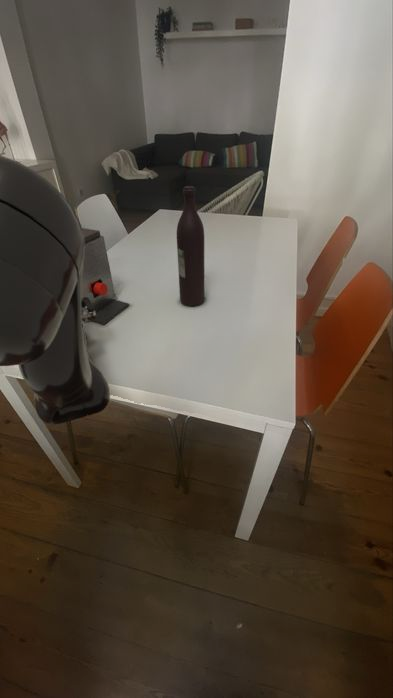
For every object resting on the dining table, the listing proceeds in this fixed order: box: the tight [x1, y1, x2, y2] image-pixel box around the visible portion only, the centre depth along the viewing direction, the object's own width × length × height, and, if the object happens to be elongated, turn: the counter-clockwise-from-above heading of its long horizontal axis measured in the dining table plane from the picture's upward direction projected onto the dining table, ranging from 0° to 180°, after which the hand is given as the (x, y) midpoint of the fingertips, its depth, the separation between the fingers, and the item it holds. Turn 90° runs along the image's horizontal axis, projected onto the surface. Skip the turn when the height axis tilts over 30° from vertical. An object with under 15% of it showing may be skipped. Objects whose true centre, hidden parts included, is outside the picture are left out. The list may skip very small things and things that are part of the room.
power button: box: [93, 282, 107, 296], centre depth 84 cm, size 2×3×3 cm, turn 153°
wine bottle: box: [176, 185, 205, 307], centre depth 83 cm, size 7×7×30 cm
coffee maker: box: [81, 227, 130, 326], centre depth 84 cm, size 18×12×20 cm, turn 63°
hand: (58, 298), depth 72 cm, fingers closed on sauce bottle, 6 cm apart
